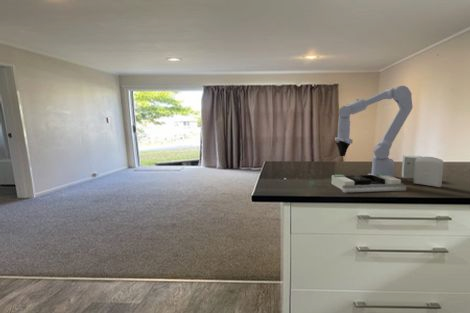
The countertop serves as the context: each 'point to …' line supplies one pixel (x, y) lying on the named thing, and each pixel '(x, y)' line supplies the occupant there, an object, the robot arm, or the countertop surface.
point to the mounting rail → (373, 187)
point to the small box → (408, 166)
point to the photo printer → (428, 171)
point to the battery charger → (366, 179)
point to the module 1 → (341, 181)
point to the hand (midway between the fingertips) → (342, 156)
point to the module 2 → (388, 178)
